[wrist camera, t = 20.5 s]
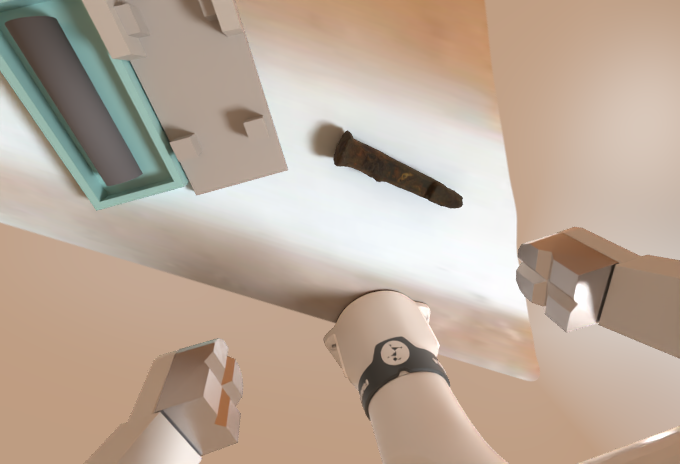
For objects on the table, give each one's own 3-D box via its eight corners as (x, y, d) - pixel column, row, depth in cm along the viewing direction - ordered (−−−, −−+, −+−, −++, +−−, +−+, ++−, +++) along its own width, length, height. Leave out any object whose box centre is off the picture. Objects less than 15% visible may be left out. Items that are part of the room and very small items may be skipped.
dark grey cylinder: (149, 170, 33) (126, 182, 30) (123, 175, 34) (98, 188, 31) (66, 18, 26) (26, 14, 23) (36, 28, 27) (-7, 26, 24)
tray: (190, 179, 35) (184, 186, 33) (108, 201, 35) (96, 210, 33) (93, -20, 26) (76, -28, 24) (-21, 6, 26) (-49, -1, 24)
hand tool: (328, 157, 38) (334, 167, 34) (343, 127, 36) (351, 134, 32) (440, 213, 45) (457, 226, 41) (456, 189, 43) (475, 201, 39)
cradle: (287, 167, 37) (289, 179, 33) (198, 192, 36) (188, 207, 32) (211, -73, 26) (199, -101, 22) (83, -45, 26) (46, -69, 21)
